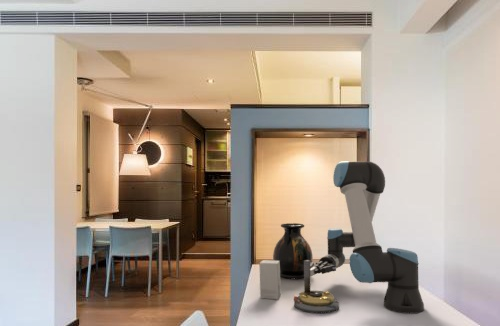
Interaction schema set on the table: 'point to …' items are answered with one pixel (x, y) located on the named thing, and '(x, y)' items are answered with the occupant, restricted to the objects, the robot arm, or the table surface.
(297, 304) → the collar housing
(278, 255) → the black vase
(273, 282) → the skincare box
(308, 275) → the brass disc with post
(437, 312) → the table surface
